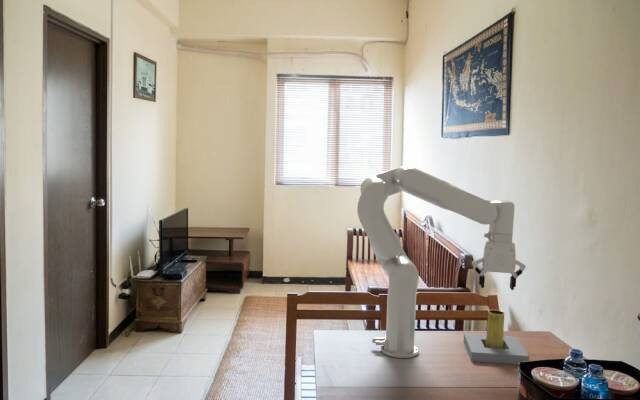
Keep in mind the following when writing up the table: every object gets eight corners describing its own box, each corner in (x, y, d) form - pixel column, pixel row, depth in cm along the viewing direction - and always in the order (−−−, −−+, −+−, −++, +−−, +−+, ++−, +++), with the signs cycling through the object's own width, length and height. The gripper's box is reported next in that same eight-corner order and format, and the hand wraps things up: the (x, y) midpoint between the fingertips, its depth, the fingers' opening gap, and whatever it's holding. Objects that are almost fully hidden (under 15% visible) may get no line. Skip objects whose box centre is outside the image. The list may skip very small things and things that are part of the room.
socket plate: (471, 361, 179) (471, 352, 179) (463, 341, 197) (464, 333, 197) (528, 365, 177) (529, 356, 177) (515, 344, 195) (516, 336, 195)
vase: (504, 357, 183) (506, 315, 182) (485, 355, 185) (487, 313, 183) (502, 350, 189) (504, 309, 188) (483, 348, 191) (485, 308, 189)
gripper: (475, 238, 181) (472, 289, 182) (530, 241, 178) (526, 292, 180) (472, 234, 188) (468, 283, 190) (524, 237, 186) (521, 286, 188)
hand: (496, 288), depth 185 cm, fingers open, 9 cm apart
